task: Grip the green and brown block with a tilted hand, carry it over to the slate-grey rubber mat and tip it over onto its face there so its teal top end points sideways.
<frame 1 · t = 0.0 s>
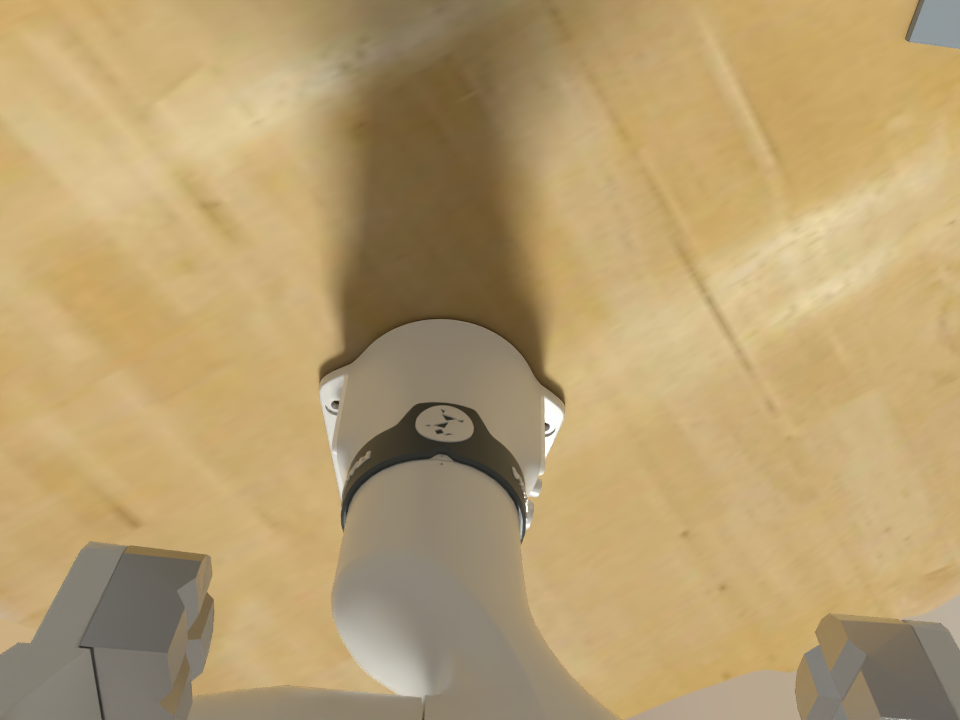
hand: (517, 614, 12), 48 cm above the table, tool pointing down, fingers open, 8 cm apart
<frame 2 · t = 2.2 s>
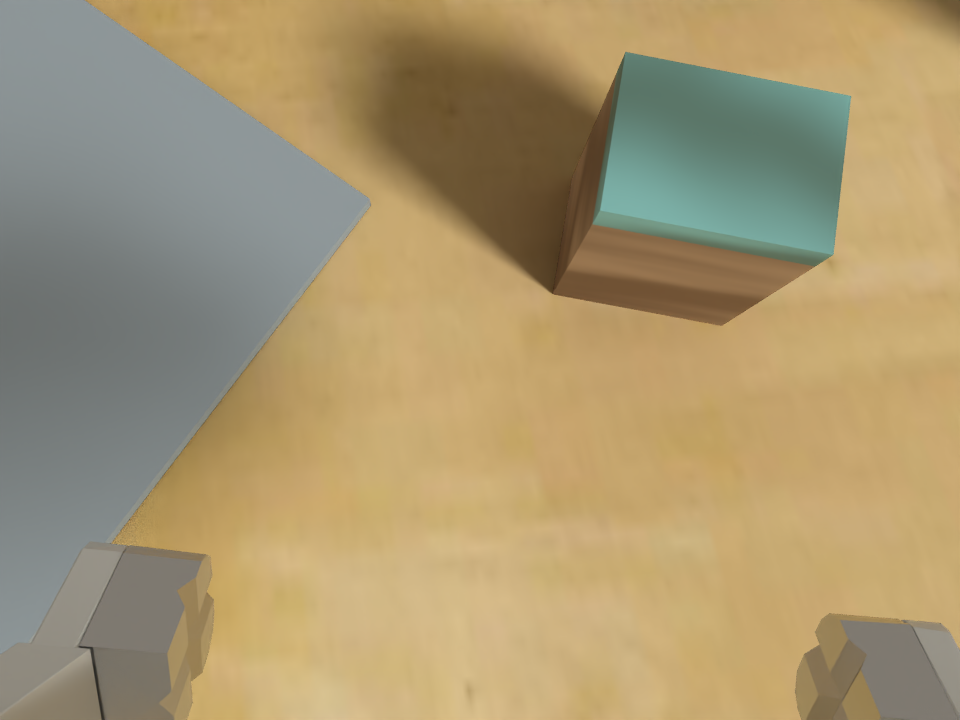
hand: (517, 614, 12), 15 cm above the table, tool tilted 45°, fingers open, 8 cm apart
green and brown block: (646, 250, 29), on the table
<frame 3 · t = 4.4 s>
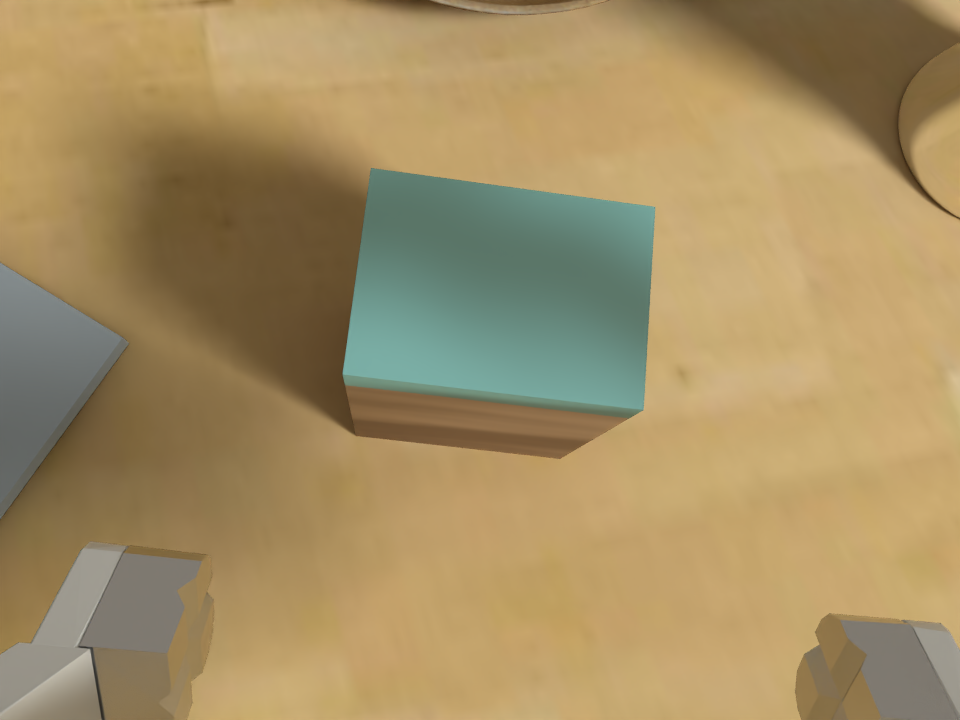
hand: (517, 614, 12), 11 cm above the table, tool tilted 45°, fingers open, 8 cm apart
green and brown block: (466, 374, 24), on the table
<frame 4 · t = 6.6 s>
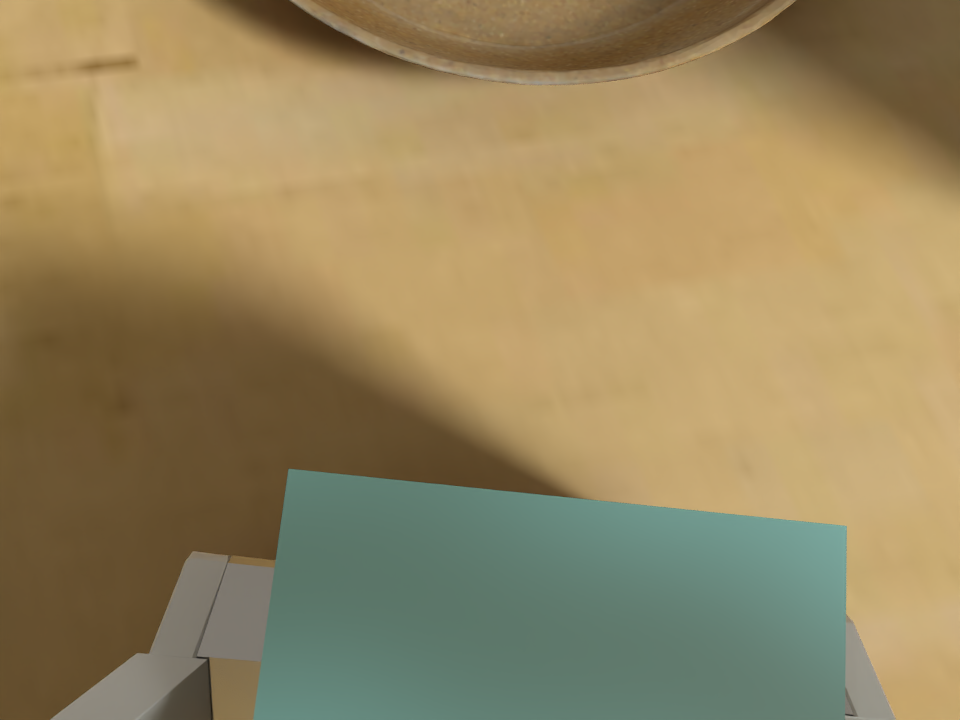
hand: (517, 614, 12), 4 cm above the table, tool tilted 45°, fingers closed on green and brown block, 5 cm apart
green and brown block: (483, 634, 16), on the table, touching gripper
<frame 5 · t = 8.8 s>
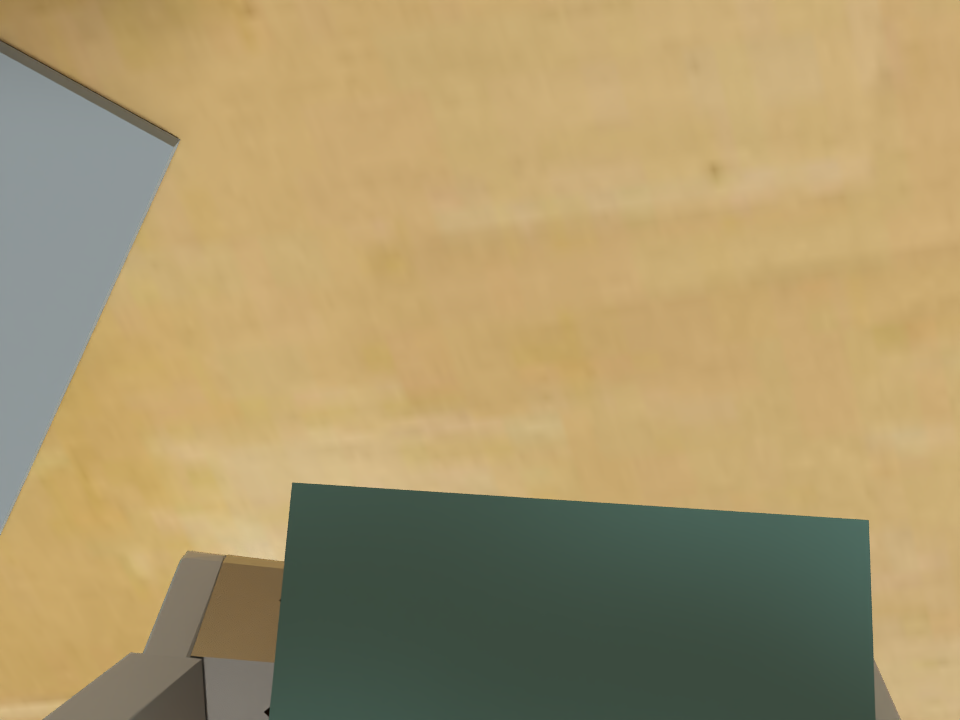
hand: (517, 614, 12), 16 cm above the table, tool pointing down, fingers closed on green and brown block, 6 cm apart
green and brown block: (469, 638, 16), point 14 cm above the table, tilted 45°, touching gripper
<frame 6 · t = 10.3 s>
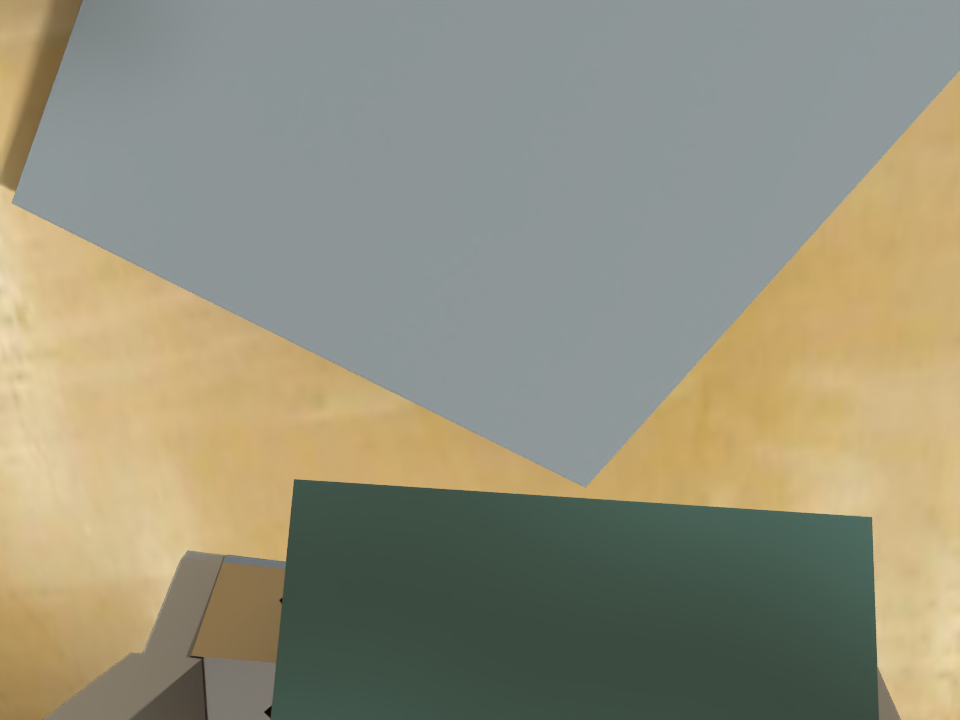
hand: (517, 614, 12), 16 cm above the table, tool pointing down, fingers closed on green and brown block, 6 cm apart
green and brown block: (471, 637, 16), point 14 cm above the table, tilted 45°, touching gripper
slate mat: (475, 114, 25), on the table
when the fingers open (7 cm above the table, at t = 12.7 s): green and brown block drops 2 cm and tips over, resting on slate mat.
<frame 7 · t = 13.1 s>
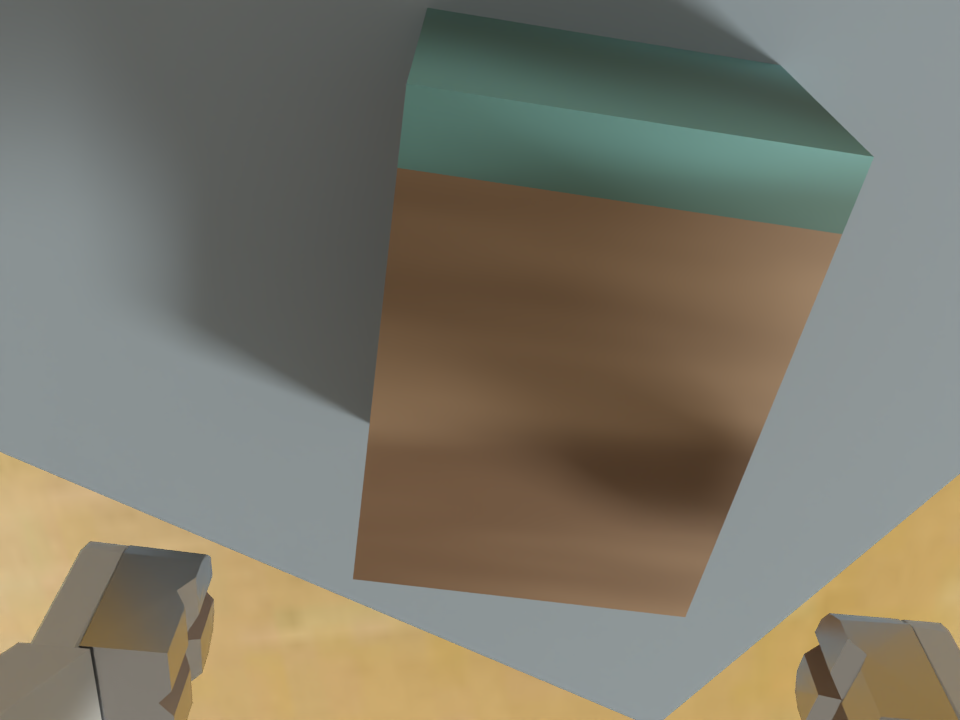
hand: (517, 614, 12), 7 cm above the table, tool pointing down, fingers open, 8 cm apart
green and brown block: (518, 513, 16), point 3 cm above the table, tilted 90°, touching slate mat
slate mat: (522, 262, 16), on the table
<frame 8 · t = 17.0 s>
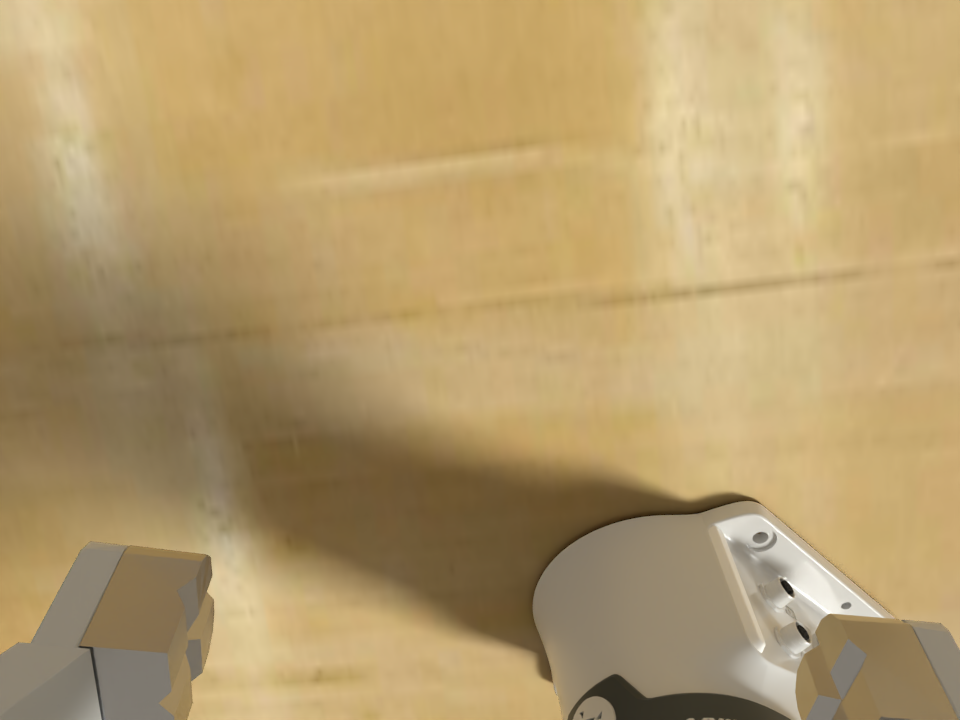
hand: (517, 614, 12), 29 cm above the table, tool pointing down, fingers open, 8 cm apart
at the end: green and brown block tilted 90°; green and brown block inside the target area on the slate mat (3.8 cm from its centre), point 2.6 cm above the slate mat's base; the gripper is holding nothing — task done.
